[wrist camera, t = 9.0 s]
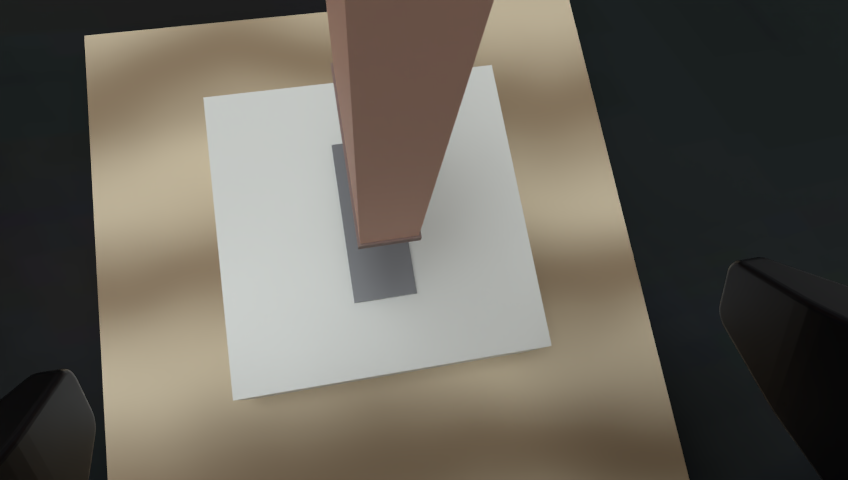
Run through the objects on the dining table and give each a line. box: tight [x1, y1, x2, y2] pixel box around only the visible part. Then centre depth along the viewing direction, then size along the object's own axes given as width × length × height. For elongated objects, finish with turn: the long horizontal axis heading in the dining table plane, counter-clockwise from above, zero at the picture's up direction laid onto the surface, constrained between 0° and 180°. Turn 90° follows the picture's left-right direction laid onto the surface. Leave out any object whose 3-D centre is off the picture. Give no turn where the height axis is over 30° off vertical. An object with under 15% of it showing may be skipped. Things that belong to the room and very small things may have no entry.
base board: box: [85, 0, 689, 480], centre depth 21 cm, size 20×18×1 cm
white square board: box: [203, 65, 552, 401], centre depth 20 cm, size 9×9×3 cm
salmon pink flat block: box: [326, 0, 494, 249], centre depth 9 cm, size 4×1×9 cm, turn 10°
